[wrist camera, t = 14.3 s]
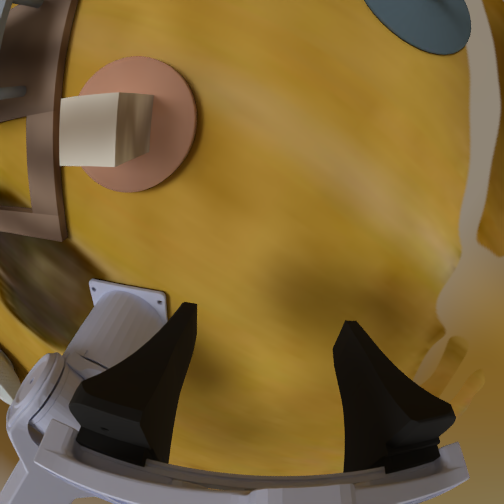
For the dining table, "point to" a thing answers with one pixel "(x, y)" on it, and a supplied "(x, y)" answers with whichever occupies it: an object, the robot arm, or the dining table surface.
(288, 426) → the dining table surface
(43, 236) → the puzzle board
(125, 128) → the block
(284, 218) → the dining table surface
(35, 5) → the grey miniature stool
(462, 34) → the cocktail glass
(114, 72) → the dish
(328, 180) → the dining table surface
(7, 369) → the cereal bowl
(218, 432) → the dining table surface
